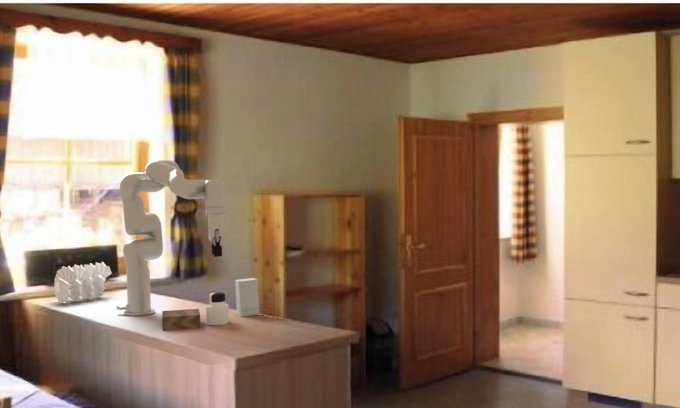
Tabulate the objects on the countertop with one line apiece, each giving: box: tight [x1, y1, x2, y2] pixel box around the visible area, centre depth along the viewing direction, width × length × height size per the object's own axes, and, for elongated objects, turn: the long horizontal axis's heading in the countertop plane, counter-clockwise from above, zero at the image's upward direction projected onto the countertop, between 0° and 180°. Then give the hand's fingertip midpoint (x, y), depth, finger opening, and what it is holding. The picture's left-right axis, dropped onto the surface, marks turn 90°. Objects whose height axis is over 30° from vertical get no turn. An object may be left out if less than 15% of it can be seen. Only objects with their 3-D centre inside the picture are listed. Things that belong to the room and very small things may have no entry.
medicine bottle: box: [205, 291, 230, 326], centre depth 285 cm, size 7×7×12 cm
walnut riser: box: [161, 308, 201, 332], centre depth 282 cm, size 14×14×5 cm
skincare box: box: [234, 277, 260, 318], centre depth 301 cm, size 8×6×15 cm
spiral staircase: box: [53, 261, 113, 303], centre depth 350 cm, size 18×18×25 cm
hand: (216, 255), depth 285 cm, fingers open, 9 cm apart
